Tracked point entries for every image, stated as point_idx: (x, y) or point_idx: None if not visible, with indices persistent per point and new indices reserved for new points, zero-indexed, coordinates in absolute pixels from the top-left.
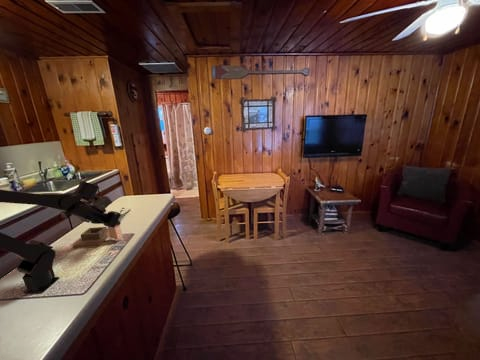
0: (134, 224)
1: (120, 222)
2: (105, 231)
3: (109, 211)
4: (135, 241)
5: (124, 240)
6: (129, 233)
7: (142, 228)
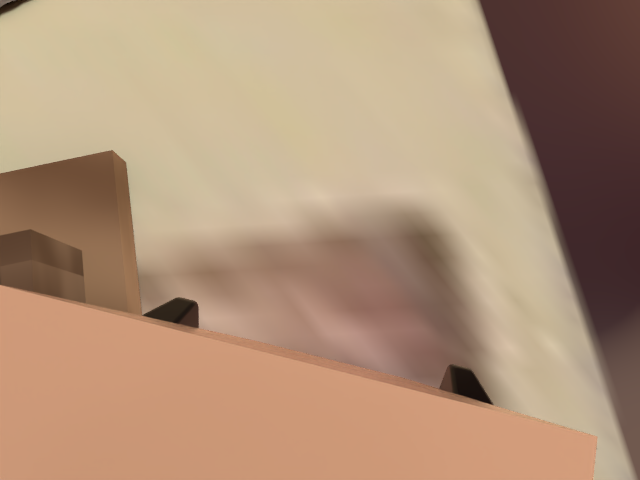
0: (281, 26)
1: (479, 382)
2: (66, 284)
3: (56, 353)
4: (588, 395)
5: (417, 380)
6: (364, 220)
7: (452, 101)
